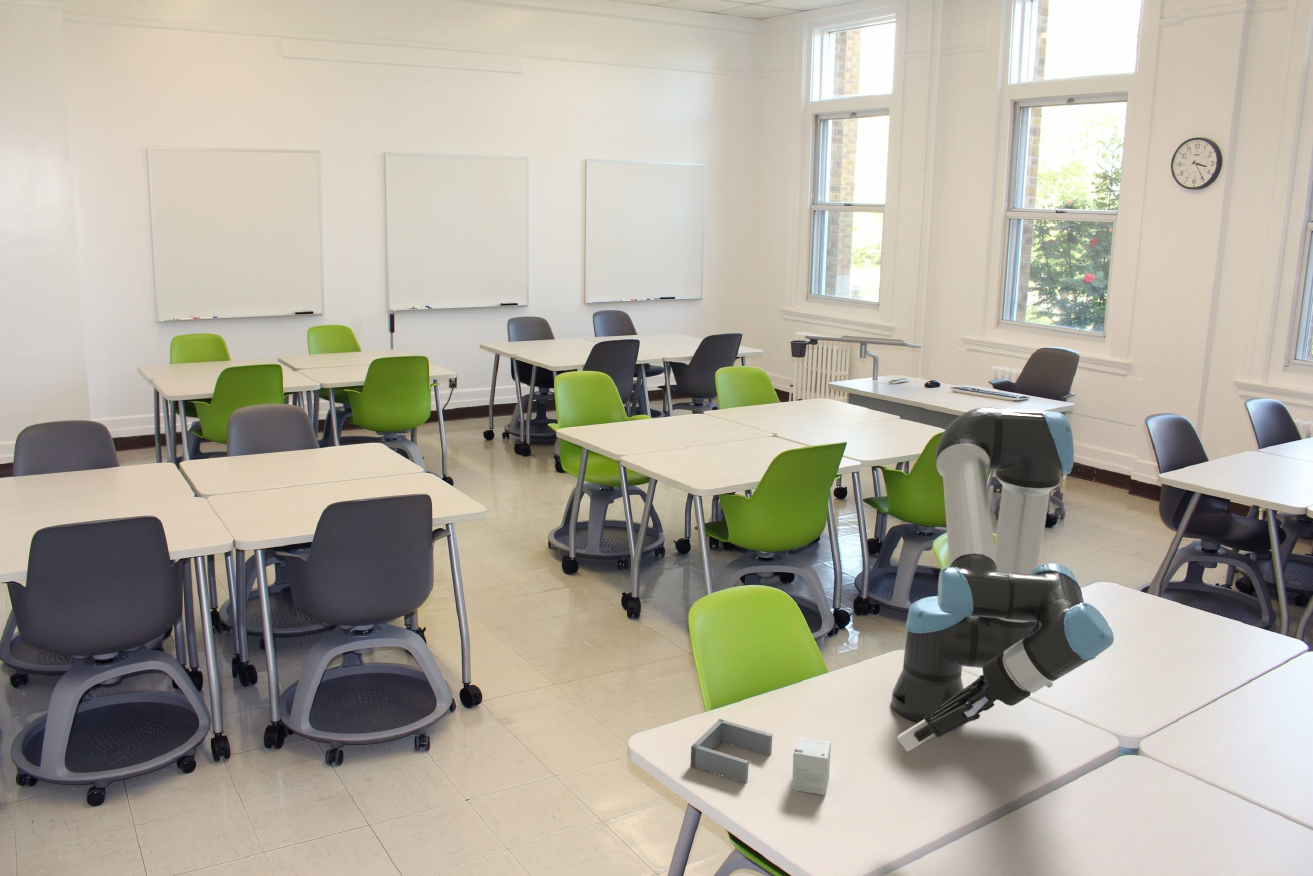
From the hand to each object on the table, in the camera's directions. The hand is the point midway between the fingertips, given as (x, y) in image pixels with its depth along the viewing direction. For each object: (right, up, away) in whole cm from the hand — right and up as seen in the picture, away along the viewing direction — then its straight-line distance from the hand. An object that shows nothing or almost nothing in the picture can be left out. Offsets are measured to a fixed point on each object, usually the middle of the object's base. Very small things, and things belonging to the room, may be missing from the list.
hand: (903, 743), depth 168 cm
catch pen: (-27, -9, +19) cm, 34 cm away
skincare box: (-14, -11, +12) cm, 21 cm away
